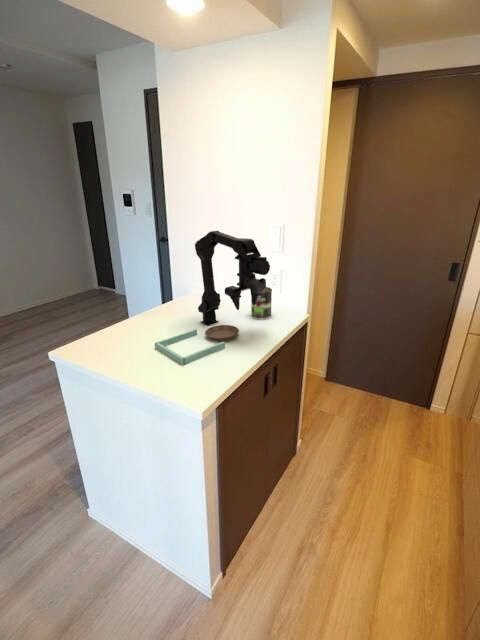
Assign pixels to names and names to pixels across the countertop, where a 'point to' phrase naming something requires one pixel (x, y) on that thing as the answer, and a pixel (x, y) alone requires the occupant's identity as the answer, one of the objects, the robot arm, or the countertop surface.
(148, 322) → the countertop surface
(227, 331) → the saucer
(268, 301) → the coffee can
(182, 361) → the tray
